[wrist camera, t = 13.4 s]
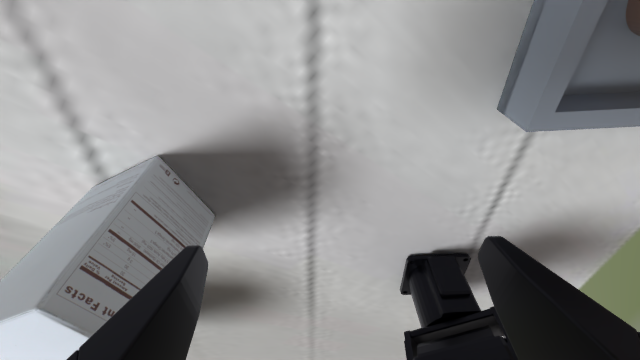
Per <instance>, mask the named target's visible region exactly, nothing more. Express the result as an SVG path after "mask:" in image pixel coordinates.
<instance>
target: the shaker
mask: <svg viewBox="0 0 640 360" xmlns="http://www.w3.org/2000/svg"><path fill="white" fill-rule="evenodd" d="M626 22H627V25H628V27H629V29H630V30H631V31H632V32H633V33H634V34H636V35H638V36H640V0H628V4H627V8H626Z"/></svg>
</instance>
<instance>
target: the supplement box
mask: <svg viewBox="0 0 640 360" xmlns="http://www.w3.org/2000/svg"><path fill="white" fill-rule="evenodd" d="M214 218H215V215H214V214H213V213H212V211H210V209H209V208H208V207H207V206H206V205H205V204H204V203H203V202H202V201H201V200H200V199H199V198H198V197H197V196H196V194H195V193H194V192H193V191H192V190H191V189H190V188H189V187H188V186H187V185H186V184H185V183H184V182H183V181H182V180H181V179H180V178H179V177H178V176H177V174H176V173H175V172H174V171H173V170H172V169H171V168H170V167H169V166H168V165H167V164H166V163H165V162H164V161H163V160H162V159H161V158H160V157H158V156H156V157H154V158H152V159H150V160H147V161H145V162H143V163H141V164H139V165H137V166H135V167H133V168H131V169H129V170H127V171H125V172H123V173H121V174H119V175H117V176H115V177H113V178H110V179H108V180H106V181H104V182H102V183H100V184H98V185H96V186H94V187H92V188H91V189H90V191H89V192H88V193H87V194H86V195H85V196H84V197H83V198H82V199H81V200H80V201H79V202H78V203H77V204H76V205H75V206H74V207H73V208H72V209H71V210H70V211H69V212H68V213H67V214H66V215H65V216H64V217H63V218H62V219H61V220H60V221H59V222H58V223H57V224H56V225H55V226H54V227H53V228H52V229H51V230H50V231H49V232H48V233H47V234H46V235H45V236H44V237H43V238H42V239H41V240H40V241H39V242H38V243H37V244H36V245H35V246H34V247H33V248H32V249H31V250H30V251H29V252H28V253H27V254H26V255H25V256H24V257H23V258H22V259H21V260H20V261H19V262H18V263H17V264H16V265H15V266H14V267H13V268H12V269H11V270H10V271H9V272H8V273H7V274H6V275H5V276H4V277H3V278H2V280H1V281H0V360H66V359H67V358H69V357H70V356H71V355H72V354H73V353H74V352H75V351H76V350H79V347H80V346H81V345H82V344H83V343H84V342H86V341H87V340H88V339H89V338H90V337H91V336H92V335H93V334H94V333H95V332H96V331H97V330H98V329H99V328H100V327H101V326H102V325H104V324H105V323H106V322H107V321H108V320H109V319H110V318H111V317H112V316H113V315H114V314H115V313H116V312H117V311H118V310H119V309H120V308H121V307H123V306H124V305H125V304H126V303H127V302H128V301H129V300H130V299H131V298H132V297H133V296H134V295H135V294H136V293H137V292H138V291H139V290H140V289H142V288H143V287H144V286H145V285H146V284H147V283H148V282H149V281H150V280H151V279H152V278H153V277H154V276H155V275H156V274H157V273H158V272H159V271H161V270H162V269H163V268H164V267H165V266H166V265H167V264H168V263H169V262H170V261H171V260H172V259H173V258H174V257H175V256H176V255H177V254H178V253H180V252H181V251H182V250H183V249H184V248H185V247H186V246H189V245H200V246H201V247H202V249H203V247H204V244H205V242H206V239H207V237H208V234H209V231H210V229H211V226H212V223H213V221H214Z"/></svg>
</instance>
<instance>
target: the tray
mask: <svg viewBox="0 0 640 360" xmlns="http://www.w3.org/2000/svg"><path fill="white" fill-rule="evenodd" d="M627 4H628V0H534V2H533V5H532V8H531V11H530V14H529V17H528V20H527V22H526V25H525V28H524V31H523V34H522V37H521V40H520V43H519V46H518V49H517V52H516V55H515V57H514V60H513V63H512V66H511V69H510V72H509V75H508V78H507V81H506V84H505V87H504V90H503V92H502V95H501V98H500V101H499V104H498V107H497V110H498V111H500V112H501V113H502V114H504V115H505V116H506V117H508V118H509V119H510V120H511V121H513V122H514V123H515V124H517V125H518V126H519V127H521V128H522V129H523V130H525V131H526V132H534V131H554V130H575V129H595V128H615V127H635V126H640V36H638V35H636V34H634V33H633V32H632V31H631V30H630V29H629V27H628V25H627V22H626V8H627Z"/></svg>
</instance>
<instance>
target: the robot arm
mask: <svg viewBox="0 0 640 360" xmlns="http://www.w3.org/2000/svg"><path fill="white" fill-rule="evenodd" d="M470 260H471V258H470V256H469V255H468V254H446V255H424V256H410V257H408V258H407V259H406V264H405V269H404V273H403V278H402V283H401V287H400V291H401V294H403V295H412V298H413V301H414V305H415V308H416V311H417V314H418V318H419V321H420V324H421V328H420V329H417V330H413V331H406V332H404V335H405V341H404V343H405V350H406V357H407V360H640V332H637V331H636V329H634V328H633V327H631V326H630V325H629V324H627V323H626V322H624V321H623V320H621V319H620V318H619V317H617V316H616V315H614V314H613V313H611V312H610V311H608V310H607V309H605V308H604V307H603V306H601V305H600V304H598V303H597V302H595V301H594V300H593V299H591V298H590V297H588V296H587V295H585V294H584V293H582V292H581V291H580V290H578V289H577V288H575V287H574V286H572V285H571V284H570V283H568V282H567V281H565V280H564V279H562V278H561V277H559V276H558V275H557V274H555V273H554V272H552V271H551V270H549V269H548V268H546V267H545V266H544V265H542V264H541V263H539V262H538V261H536V260H535V259H533V258H532V257H531V256H529V255H528V254H526V253H525V252H523V251H522V250H520V249H519V248H518V247H516V246H515V245H513V244H512V243H510V242H509V241H507V240H506V239H505V238H503V237H501V236H488V237H486V238H485V240H484V242H483V244H482V246H481V248H480V250H479V252H478V260H479V263H480V266H481V269H482V272H483V275H484V278H485V281H486V284H487V287H488V290H489V293H490V296H491V299H492V302H493V304H494V307H490V309H487V310H484V311H481V310H480V308H479V306H478V303H477V301H476V299H475V297H474V295H473V293H472V290H471V288H470V286H469V284H468V282H467V280H466V278H465V276H464V274H465V271H466V269H467V267H468V264H469V262H470ZM207 271H208V261H207V258H206V256H205V253H204V251H203V249H202V247H201V246H200V245H189V246H186V247H185V248H184V249H183V250H182V251H181V252H180V253H178V254H177V255H176V256H175V257H174V258H173V259H172V260H171V261H170V262H169V263H168V264H167V265H166V266H165V267H164V268H163V269H162V270H161V271H159V272H158V273H157V274H156V275H155V276H154V277H153V278H152V279H151V280H150V281H149V282H148V283H147V284H146V285H145V286H144V287H143V288H142V289H140V290H139V291H138V292H137V293H136V294H135V295H134V296H133V297H132V298H131V299H130V300H129V301H128V302H127V303H126V304H125V305H124V306H123V307H121V308H120V309H119V310H118V311H117V312H116V313H115V314H114V315H113V316H112V317H111V318H110V319H109V320H108V321H107V322H106V323H105V324H104V325H102V326H101V327H100V328H99V329H98V330H97V331H96V332H95V333H94V334H93V335H92V336H91V337H90V338H89V339H88V340H87V341H86V342H84V343H83V344H82V345H81V346H80V347H79V350H76V351H75V352H74V353H73V354H72V355H71V356H70V357H69V358H67V359H66V360H186V357H187V354H188V350H189V347H190V344H191V340H192V337H193V334H194V331H195V327H196V324H197V320H198V317H199V313H200V308H201V303H202V297H203V292H204V287H205V281H206V276H207ZM501 336H503V337H504V338H503V337H501Z"/></svg>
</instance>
